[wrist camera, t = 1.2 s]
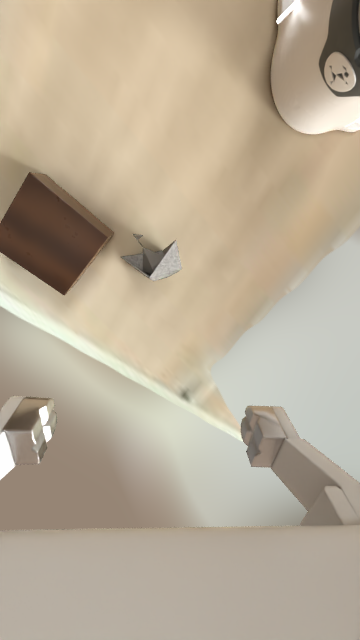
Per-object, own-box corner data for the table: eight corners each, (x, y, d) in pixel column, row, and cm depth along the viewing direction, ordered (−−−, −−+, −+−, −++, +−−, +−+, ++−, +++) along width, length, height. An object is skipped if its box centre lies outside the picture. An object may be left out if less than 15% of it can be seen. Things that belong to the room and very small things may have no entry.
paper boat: (135, 296, 44) (98, 258, 38) (147, 270, 47) (115, 232, 41) (191, 285, 37) (156, 237, 31) (201, 256, 40) (172, 208, 34)
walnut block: (45, 174, 35) (29, 171, 31) (114, 232, 40) (108, 237, 35) (8, 238, 39) (-12, 243, 35) (74, 285, 43) (64, 295, 39)
